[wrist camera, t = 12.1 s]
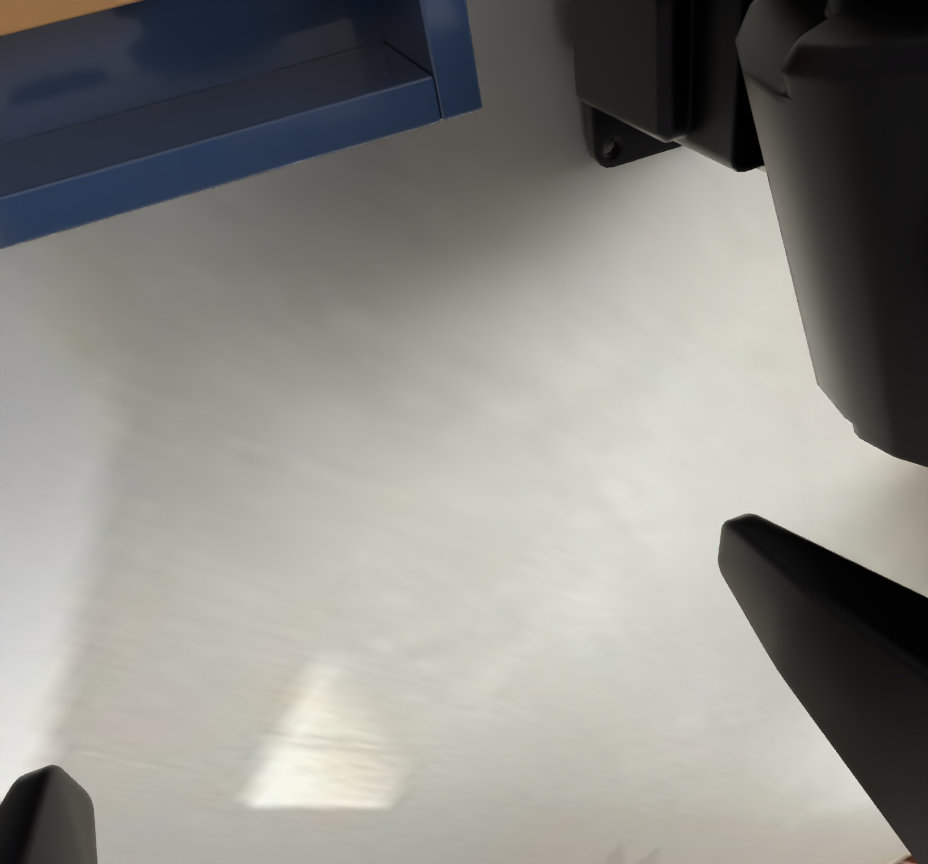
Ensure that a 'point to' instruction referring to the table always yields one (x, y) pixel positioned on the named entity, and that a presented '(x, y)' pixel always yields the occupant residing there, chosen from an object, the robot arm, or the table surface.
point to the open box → (212, 97)
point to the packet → (48, 12)
